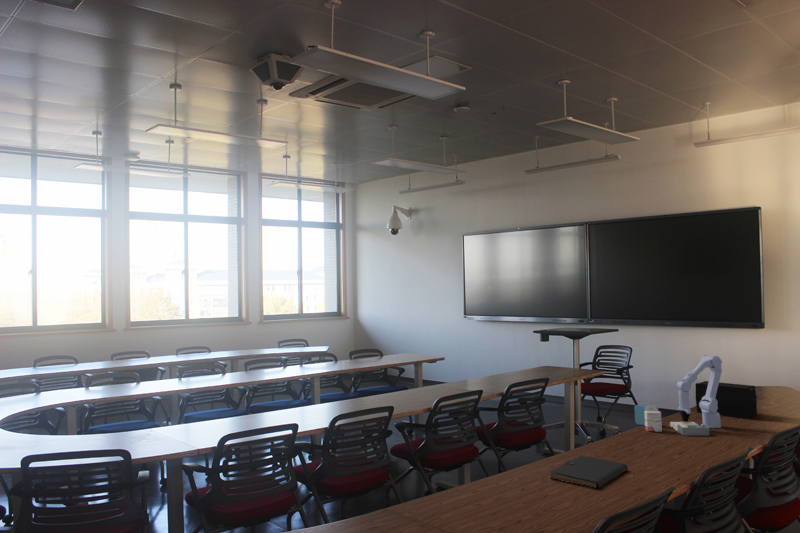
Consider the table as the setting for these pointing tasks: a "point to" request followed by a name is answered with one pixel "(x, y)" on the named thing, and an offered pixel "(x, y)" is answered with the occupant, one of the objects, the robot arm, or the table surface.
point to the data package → (640, 414)
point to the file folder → (588, 471)
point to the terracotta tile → (685, 422)
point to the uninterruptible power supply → (731, 399)
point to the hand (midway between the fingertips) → (685, 423)
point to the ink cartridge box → (652, 419)
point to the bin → (694, 431)
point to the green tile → (690, 425)
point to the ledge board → (674, 425)
